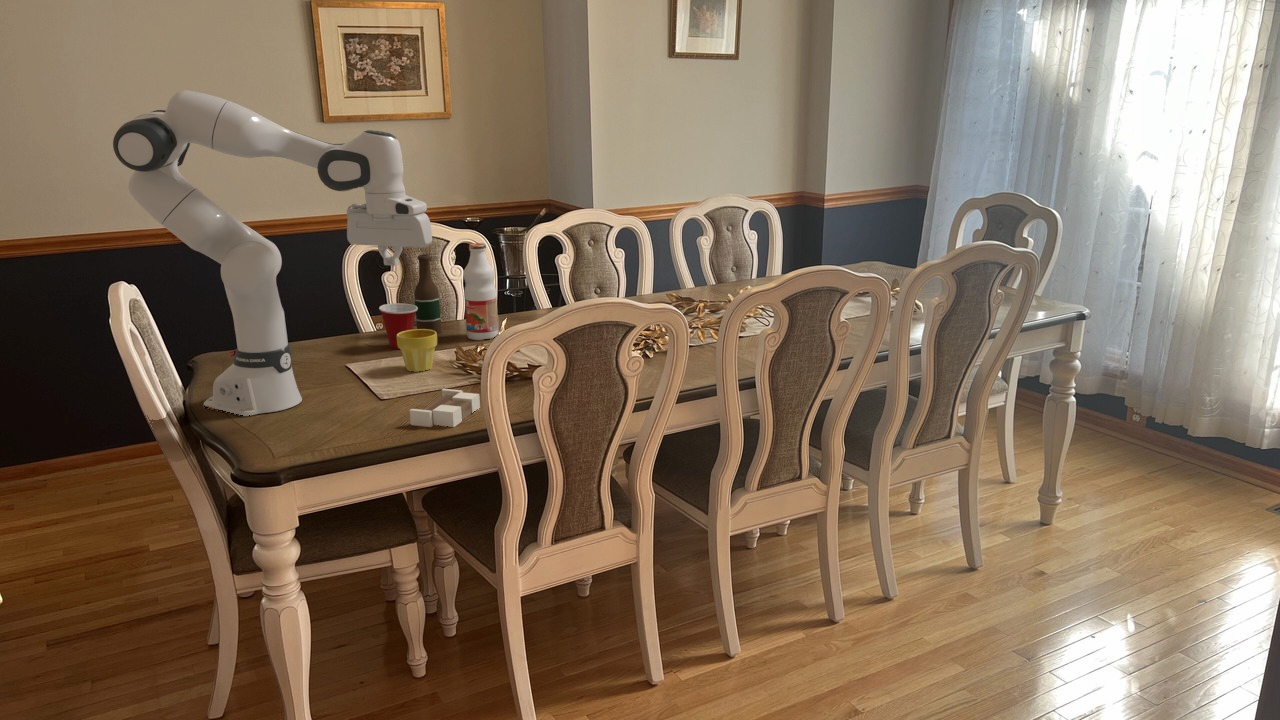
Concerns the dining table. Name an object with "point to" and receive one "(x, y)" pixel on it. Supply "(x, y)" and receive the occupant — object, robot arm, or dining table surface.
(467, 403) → the walnut T block
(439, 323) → the beer bottle
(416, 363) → the plant pot
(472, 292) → the fruit juice
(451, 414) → the cream T dock
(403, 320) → the plastic cup
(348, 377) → the dining table surface
